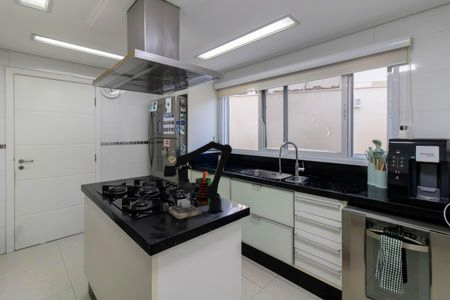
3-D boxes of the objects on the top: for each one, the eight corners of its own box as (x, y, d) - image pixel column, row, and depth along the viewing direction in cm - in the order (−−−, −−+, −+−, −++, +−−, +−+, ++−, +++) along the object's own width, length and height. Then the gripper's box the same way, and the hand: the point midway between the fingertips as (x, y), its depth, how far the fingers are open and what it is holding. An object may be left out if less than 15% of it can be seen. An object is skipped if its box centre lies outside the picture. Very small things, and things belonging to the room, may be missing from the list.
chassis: (190, 205, 141) (190, 197, 141) (204, 212, 127) (204, 204, 127) (163, 210, 131) (162, 202, 131) (175, 219, 117) (175, 210, 117)
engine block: (185, 207, 133) (185, 198, 132) (190, 209, 128) (190, 201, 128) (177, 208, 130) (177, 200, 130) (182, 211, 125) (181, 202, 125)
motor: (194, 204, 143) (193, 173, 141) (198, 200, 151) (198, 170, 150) (209, 205, 140) (209, 173, 139) (213, 201, 149) (213, 171, 148)
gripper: (173, 181, 116) (173, 211, 117) (204, 177, 127) (205, 204, 128) (165, 178, 125) (165, 205, 126) (195, 174, 136) (195, 200, 137)
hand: (183, 204), depth 129 cm, fingers open, 9 cm apart
